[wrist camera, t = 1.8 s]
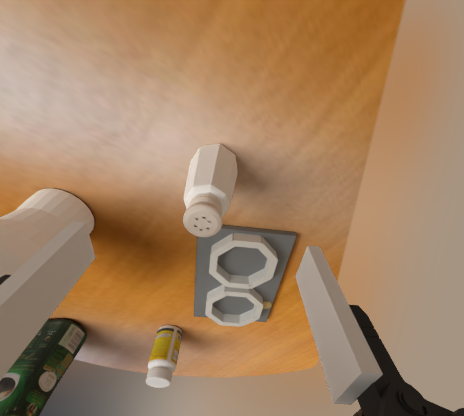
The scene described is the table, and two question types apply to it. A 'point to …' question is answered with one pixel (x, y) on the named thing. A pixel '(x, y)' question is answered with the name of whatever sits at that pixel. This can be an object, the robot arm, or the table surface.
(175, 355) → the supplement bottle
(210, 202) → the pepper shaker
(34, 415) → the coffee jar
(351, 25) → the table surface
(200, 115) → the table surface
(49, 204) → the cup
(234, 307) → the collar board
